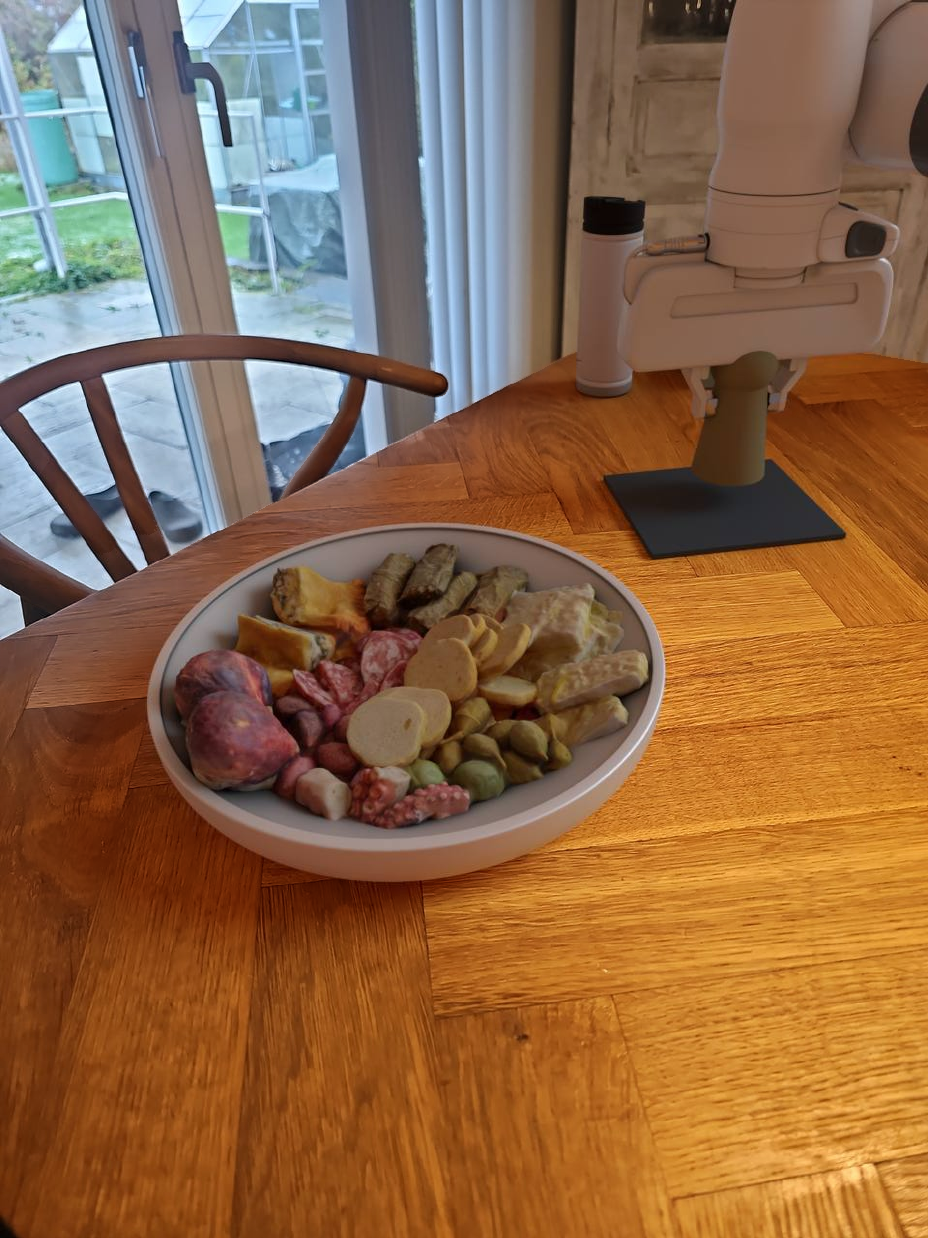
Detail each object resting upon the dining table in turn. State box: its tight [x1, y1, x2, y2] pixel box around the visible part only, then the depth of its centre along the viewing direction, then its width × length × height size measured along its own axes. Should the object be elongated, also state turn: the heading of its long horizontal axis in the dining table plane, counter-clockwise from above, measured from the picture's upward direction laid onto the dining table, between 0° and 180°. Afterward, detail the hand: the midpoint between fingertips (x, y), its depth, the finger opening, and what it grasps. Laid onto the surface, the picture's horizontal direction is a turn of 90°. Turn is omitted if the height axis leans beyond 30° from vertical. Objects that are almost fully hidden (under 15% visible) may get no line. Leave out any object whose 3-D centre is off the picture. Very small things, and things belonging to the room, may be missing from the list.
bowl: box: [146, 522, 666, 883], centre depth 51 cm, size 30×30×8 cm
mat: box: [603, 458, 847, 560], centre depth 73 cm, size 16×14×1 cm
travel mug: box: [575, 195, 646, 398], centre depth 90 cm, size 6×7×20 cm
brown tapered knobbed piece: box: [690, 351, 780, 486], centre depth 69 cm, size 6×6×11 cm
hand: (737, 412), depth 69 cm, fingers closed on brown tapered knobbed piece, 4 cm apart
